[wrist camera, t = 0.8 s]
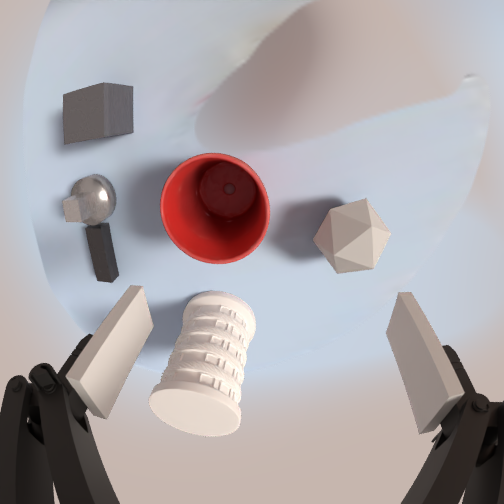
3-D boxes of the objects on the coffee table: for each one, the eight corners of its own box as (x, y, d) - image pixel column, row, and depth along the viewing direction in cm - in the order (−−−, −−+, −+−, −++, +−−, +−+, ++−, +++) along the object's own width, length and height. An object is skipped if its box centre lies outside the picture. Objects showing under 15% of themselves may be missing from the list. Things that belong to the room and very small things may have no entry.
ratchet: (77, 176, 35) (50, 187, 29) (113, 172, 35) (87, 183, 29) (95, 272, 42) (75, 292, 37) (129, 276, 42) (110, 298, 36)
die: (300, 238, 37) (335, 299, 32) (306, 191, 30) (353, 259, 25) (351, 222, 39) (387, 275, 33) (365, 176, 32) (413, 234, 26)
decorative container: (195, 346, 47) (166, 432, 31) (176, 292, 42) (129, 381, 26) (260, 345, 46) (250, 439, 29) (250, 288, 41) (232, 389, 25)
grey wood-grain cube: (94, 95, 30) (63, 94, 23) (133, 86, 29) (103, 82, 23) (95, 137, 32) (64, 144, 26) (133, 132, 32) (104, 137, 26)
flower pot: (278, 151, 32) (279, 162, 23) (265, 235, 37) (260, 272, 28) (192, 141, 32) (162, 149, 24) (186, 223, 37) (159, 255, 28)
